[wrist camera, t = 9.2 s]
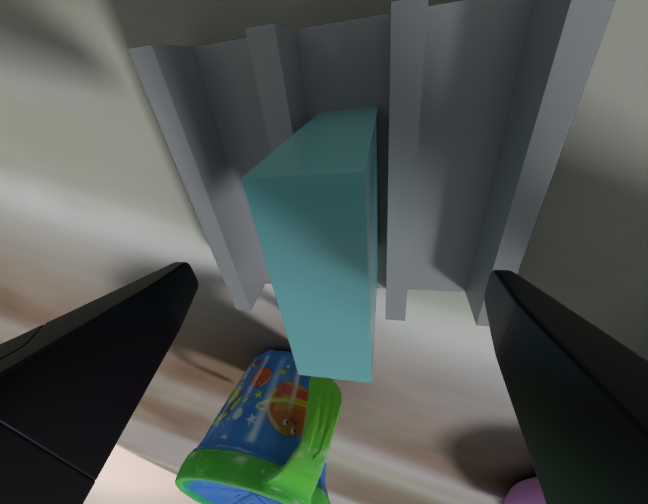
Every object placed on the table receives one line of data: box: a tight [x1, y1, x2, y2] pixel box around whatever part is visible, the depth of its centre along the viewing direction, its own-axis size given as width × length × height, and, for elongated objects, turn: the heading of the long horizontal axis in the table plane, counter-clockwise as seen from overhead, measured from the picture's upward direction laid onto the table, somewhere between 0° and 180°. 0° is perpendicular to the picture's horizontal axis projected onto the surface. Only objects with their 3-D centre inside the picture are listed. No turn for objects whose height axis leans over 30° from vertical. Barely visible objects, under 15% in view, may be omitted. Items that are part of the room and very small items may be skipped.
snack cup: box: [175, 349, 342, 504], centre depth 22 cm, size 16×10×10 cm
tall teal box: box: [241, 107, 379, 383], centre depth 10 cm, size 7×2×8 cm, turn 7°
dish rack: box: [128, 0, 616, 326], centre depth 13 cm, size 13×15×4 cm
